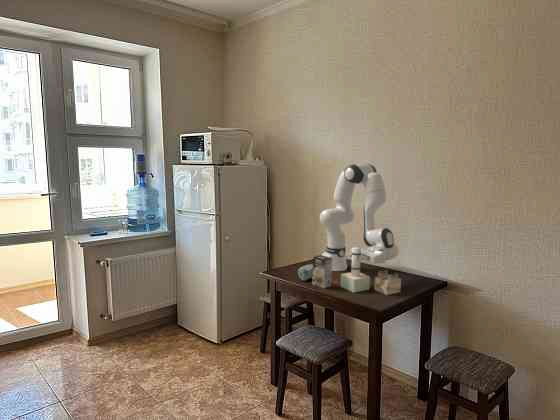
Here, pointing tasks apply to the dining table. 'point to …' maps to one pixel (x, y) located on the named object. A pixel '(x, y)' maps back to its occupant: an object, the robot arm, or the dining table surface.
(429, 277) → the dining table surface
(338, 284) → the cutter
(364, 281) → the beige box
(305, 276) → the spool
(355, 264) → the white thermos bottle
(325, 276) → the coffee box
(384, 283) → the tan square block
